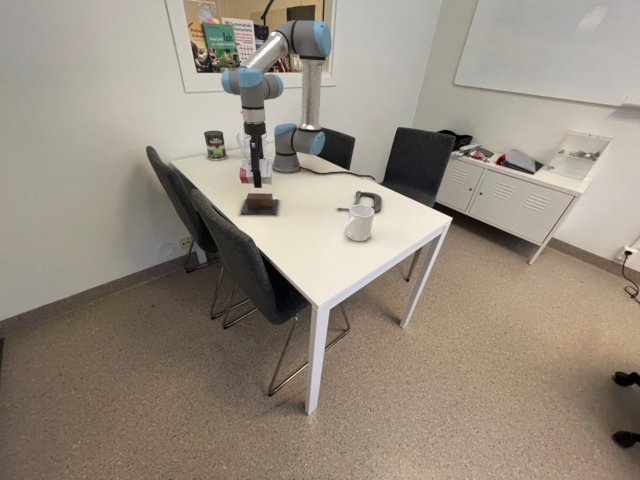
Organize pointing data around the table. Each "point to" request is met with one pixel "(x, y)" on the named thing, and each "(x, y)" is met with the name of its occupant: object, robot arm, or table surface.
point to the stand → (260, 204)
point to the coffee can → (215, 145)
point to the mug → (359, 222)
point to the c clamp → (377, 198)
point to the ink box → (248, 176)
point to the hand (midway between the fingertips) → (259, 182)
